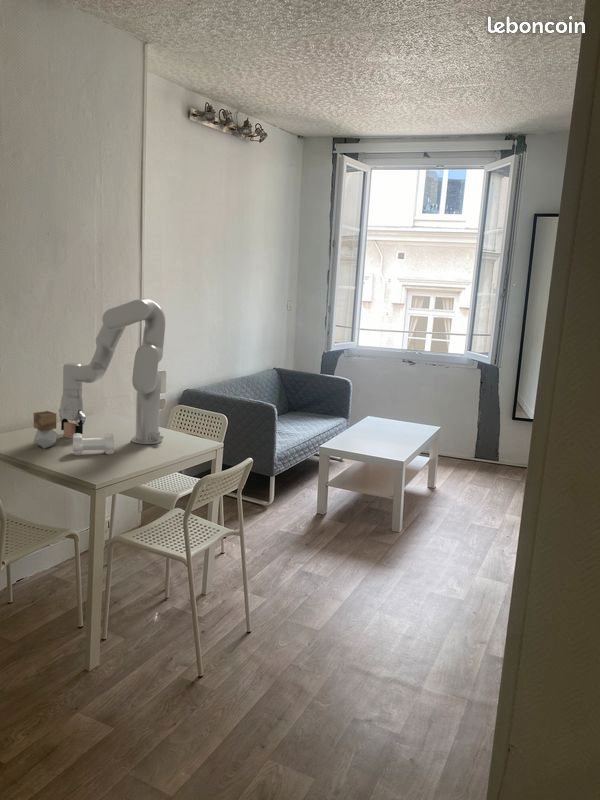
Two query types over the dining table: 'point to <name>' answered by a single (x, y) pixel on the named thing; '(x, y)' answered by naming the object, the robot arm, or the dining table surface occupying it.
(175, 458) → the dining table surface
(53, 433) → the die
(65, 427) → the block terracotta
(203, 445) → the dining table surface
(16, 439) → the dining table surface
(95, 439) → the dog bone
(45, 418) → the block walnut
